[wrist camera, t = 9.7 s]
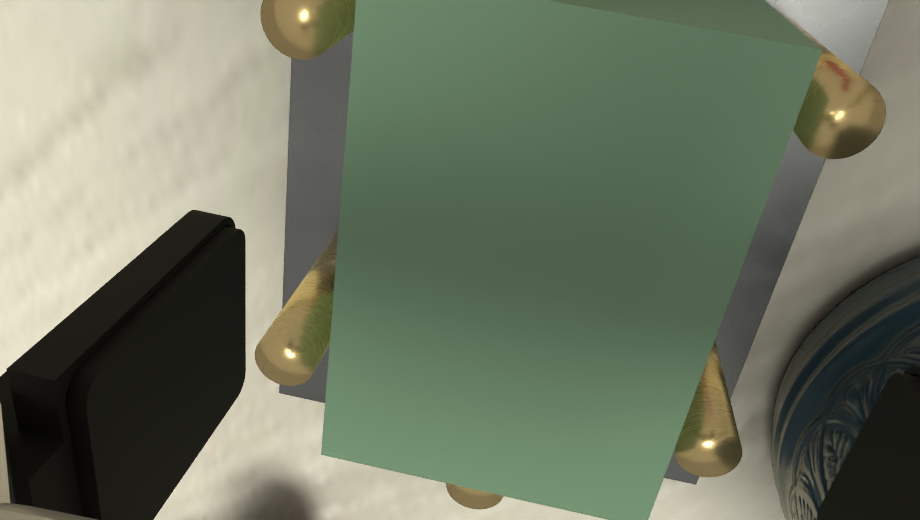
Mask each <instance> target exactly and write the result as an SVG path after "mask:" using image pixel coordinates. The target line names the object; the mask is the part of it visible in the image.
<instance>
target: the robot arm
mask: <svg viewBox="0 0 920 520" xmlns="http://www.w3.org/2000/svg"><path fill="white" fill-rule="evenodd" d="M245 371H246V356H245V235H244V232H243V231H242V230H240V229H236V228H235V224H234V221H233V220H232V219H231V218H230V217H226V216H221V215H217V214H212V213H207V212H203V211H198V210H192V211H190V212H188V213H187V214H186V215H185V216H184V217H182V218H181V219H180V220H179V221H178V222H177V223H175V224H174V225H173V226H172V227H171V228H170V229H168V230H167V231H166V232H165V233H164V234H163V235H161V236H160V237H159V238H158V239H157V240H156V241H155V242H153V243H152V244H151V245H150V246H149V247H148V248H146V249H145V250H144V251H143V252H142V253H141V254H139V255H138V256H137V257H136V258H135V259H134V260H132V261H131V262H130V263H129V264H128V265H127V266H126V267H124V268H123V269H122V270H121V271H120V272H119V273H117V274H116V275H115V276H114V277H113V278H112V279H110V280H109V281H108V282H107V283H106V284H105V285H104V286H102V287H101V288H100V289H99V290H98V291H97V292H95V293H94V294H93V295H92V296H91V297H90V298H88V299H87V300H86V301H85V302H84V303H83V304H81V305H80V306H79V307H78V308H77V309H76V310H75V311H73V312H72V313H71V314H70V315H69V316H68V317H66V318H65V319H64V320H63V321H62V322H61V323H59V324H58V325H57V326H56V327H55V328H54V329H53V330H51V331H50V332H49V333H48V334H47V335H46V336H44V337H43V338H42V339H41V340H40V341H39V342H37V343H36V344H35V345H34V346H33V347H32V348H30V349H29V350H28V351H27V352H26V353H25V354H24V355H22V356H21V357H20V358H19V359H18V360H17V361H15V362H14V363H13V364H12V365H11V366H10V367H8V368H7V371H6V372H5V373H4V374H3V375H2V376H1V377H0V520H153V519H154V518H155V516H156V515H157V513H158V512H159V511H160V509H161V508H162V506H163V505H164V503H165V502H166V500H167V499H168V497H169V496H170V495H171V493H172V492H173V490H174V489H175V487H176V486H177V484H178V483H179V481H180V480H181V479H182V477H183V476H184V474H185V473H186V471H187V470H188V468H189V467H190V465H191V464H192V463H193V461H194V460H195V458H196V457H197V455H198V454H199V452H200V451H201V450H202V448H203V447H204V445H205V444H206V442H207V441H208V439H209V438H210V436H211V435H212V434H213V432H214V431H215V429H216V428H217V426H218V425H219V423H220V422H221V420H222V419H223V418H224V416H225V415H226V413H227V412H228V410H229V409H230V407H231V406H232V404H233V403H234V402H235V400H236V399H237V397H238V395H239V394H240V392H241V389H242V387H243V383H244V379H245ZM817 520H920V366H911V367H909V368H908V369H907V370H905V371H904V373H898V372H897V373H894V374H892V375H891V376H890V377H889V379H888V380H887V382H886V384H885V386H884V388H883V389H882V391H881V393H880V395H879V397H878V399H877V401H876V403H875V404H874V406H873V408H872V410H871V412H870V414H869V416H868V417H867V419H866V421H865V423H864V425H863V427H862V429H861V431H860V432H859V434H858V436H857V438H856V440H855V442H854V444H853V446H852V447H851V449H850V451H849V453H848V455H847V457H846V459H845V461H844V462H843V464H842V466H841V468H840V470H839V472H838V474H837V476H836V477H835V479H834V481H833V483H832V485H831V487H830V489H829V490H828V492H827V494H826V496H825V498H824V500H823V502H822V504H821V505H820V508H819V510H818V514H817Z"/></svg>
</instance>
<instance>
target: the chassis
mask: <svg viewBox="0 0 920 520" xmlns="http://www.w3.org/2000/svg"><path fill="white" fill-rule="evenodd" d="M765 1H766V2H767V3H768V4H769V5H771V6H772V7H773V8H774V9H775V10H776V11H778V12H779V13H780V14H781V15H782V16H783V17H785V18H786V19H787V20H788V21H789V22H790V23H792V24H793V25H794V26H795V27H796V28H797V29H799V30H800V31H801V32H802V33H803V34H804V35H806V36H807V37H808V38H809V39H810V40H811V41H813V42H814V43H815V44H816V45H817V46H818V47H820V48H821V49H822V53H821V56H820V58H819V61H818V64H817V66H816V69H815V72H814V74H813V77H812V80H811V82H810V85H809V88H808V91H807V93H806V96H805V99H804V101H803V104H802V107H801V109H800V112H799V115H798V117H797V120H796V123H795V126H794V128H793V131H792V134H791V136H790V139H789V142H788V144H787V147H786V150H785V152H784V155H783V158H782V161H781V163H780V166H779V169H778V171H777V174H776V177H775V179H774V182H773V185H772V187H771V190H770V193H769V196H768V198H767V201H766V204H765V206H764V209H763V212H762V214H761V217H760V220H759V222H758V225H757V228H756V230H755V233H754V236H753V239H752V241H751V244H750V247H749V249H748V252H747V255H746V257H745V260H744V263H743V265H742V268H741V271H740V274H739V276H738V279H737V282H736V284H735V287H734V290H733V292H732V295H731V298H730V300H729V303H728V306H727V309H726V311H725V314H724V317H723V319H722V322H721V325H720V327H719V330H718V333H717V335H716V338H715V341H714V344H713V346H712V349H711V352H710V354H709V357H708V360H707V362H706V365H705V368H704V370H703V373H702V376H701V379H700V381H699V384H698V387H697V389H696V392H695V395H694V397H693V400H692V403H691V405H690V408H689V411H688V414H687V416H686V419H685V422H684V424H683V427H682V430H681V432H680V435H679V438H678V440H677V443H676V446H675V449H674V451H673V454H672V457H671V459H670V462H669V465H668V467H667V470H666V473H665V475H664V478H668V479H673V480H677V481H682V482H686V483H691V484H696V483H697V481H698V478H699V476H701V477H716V476H721V475H724V474H726V473H728V472H730V471H731V470H733V469H734V468H735V467H736V466H737V465H738V463H739V462H740V460H741V457H742V447H741V443H740V439H739V435H738V431H737V427H736V423H735V419H734V414H733V410H732V406H731V402H730V398H731V396H732V393H733V391H734V388H735V386H736V383H737V381H738V378H739V375H740V373H741V370H742V368H743V365H744V363H745V360H746V358H747V355H748V353H749V350H750V348H751V345H752V343H753V340H754V338H755V335H756V333H757V330H758V328H759V325H760V323H761V320H762V318H763V315H764V313H765V310H766V308H767V305H768V303H769V300H770V298H771V295H772V293H773V290H774V288H775V285H776V283H777V280H778V278H779V275H780V273H781V270H782V268H783V265H784V263H785V260H786V258H787V255H788V252H789V250H790V247H791V245H792V242H793V240H794V237H795V235H796V232H797V230H798V227H799V225H800V222H801V220H802V217H803V215H804V212H805V210H806V207H807V205H808V202H809V200H810V197H811V195H812V192H813V190H814V187H815V185H816V182H817V180H818V177H819V175H820V172H821V170H822V167H823V165H824V162H825V160H826V158H828V159H840V158H846V157H849V156H852V155H855V154H857V153H859V152H861V151H862V150H864V149H865V148H867V147H868V146H869V145H870V144H871V143H872V142H873V141H874V140H875V139H876V138H877V136H878V135H879V133H880V132H881V130H882V128H883V125H884V122H885V116H886V109H885V104H884V100H883V98H882V96H881V95H880V93H879V92H878V91H877V90H876V89H875V88H874V87H873V86H872V85H870V84H869V83H868V82H867V81H866V80H864V79H863V78H862V77H861V76H860V75H859V74H860V72H861V69H862V67H863V64H864V62H865V59H866V57H867V54H868V52H869V49H870V47H871V44H872V42H873V39H874V37H875V34H876V32H877V29H878V27H879V24H880V22H881V19H882V17H883V14H884V12H885V9H886V6H887V4H888V1H889V0H765ZM355 8H356V0H263V2H262V6H261V22H262V26H263V30H264V32H265V34H266V36H267V38H268V39H269V41H270V42H271V44H272V45H273V46H274V47H275V48H276V49H277V50H279V51H280V52H281V53H283V54H285V55H286V56H289V57H291V58H292V61H291V88H290V115H289V142H288V169H287V197H286V224H285V251H284V278H283V305H282V311H281V312H280V313H279V315H278V316H277V318H276V319H275V321H274V322H273V324H272V325H271V326H270V328H269V329H268V331H267V332H266V334H265V335H264V336H263V338H262V339H261V341H260V342H259V344H258V345H257V347H256V350H255V360H256V363H257V365H258V367H259V369H260V370H261V372H262V373H263V374H264V375H265V376H266V377H267V378H269V379H270V380H272V381H274V382H276V383H278V384H280V387H279V393H282V394H286V395H291V396H295V397H300V398H304V399H309V400H313V401H318V402H323V403H325V399H326V386H327V373H328V360H329V347H330V334H331V321H332V308H333V295H334V282H335V269H336V256H337V243H338V230H339V217H340V204H341V191H342V178H343V165H344V152H345V139H346V126H347V113H348V100H349V87H350V74H351V61H352V48H353V34H354V21H355ZM446 487H447V490H448V493H449V494H450V496H451V497H452V498H453V499H454V500H455V501H456V502H458V503H459V504H461V505H463V506H465V507H468V508H472V509H487V508H490V507H493V506H495V505H496V504H498V503H499V502H500V501H501V500H502V498H503V496H502V495H497V494H493V493H489V492H484V491H480V490H475V489H471V488H466V487H462V486H458V485H453V484H449V483H446Z"/></svg>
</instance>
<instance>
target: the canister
mask: <svg viewBox="0 0 920 520" xmlns="http://www.w3.org/2000/svg"><path fill="white" fill-rule="evenodd" d="M911 366H920V257H917V258H915V259H913V260H910V261H908V262H906V263H904V264H902V265H900V266H898V267H896V268H894V269H892V270H890V271H888V272H886V273H884V274H883V275H881V276H879V277H877V278H876V279H874V280H872V281H871V282H869V283H868V284H866V285H865V286H863V287H862V288H860V289H859V290H857V291H856V292H854V293H853V294H852V295H850V296H849V297H848V298H846V299H845V300H844V301H843V302H841V303H840V304H839V305H838V306H837V307H836V308H835V309H833V310H832V311H831V312H830V313H829V314H828V315H827V316H826V317H825V318H824V319H823V320H822V321H821V322H820V323H819V324H818V325H817V326H816V327H815V329H814V330H813V331H812V332H811V333H810V334H809V336H808V337H807V338H806V339H805V341H804V342H803V344H802V345H801V346H800V348H799V349H798V351H797V352H796V354H795V356H794V357H793V359H792V361H791V362H790V364H789V366H788V368H787V370H786V372H785V374H784V377H783V379H782V382H781V385H780V387H779V391H778V394H777V398H776V402H775V408H774V415H773V441H772V467H773V474H774V480H775V484H776V488H777V491H778V494H779V499H780V502H781V506H782V510H783V513H784V516H785V518H786V520H817V514H818V510H819V508H820V505H821V504H822V502H823V500H824V498H825V496H826V494H827V492H828V490H829V489H830V487H831V485H832V483H833V481H834V479H835V477H836V476H837V474H838V472H839V470H840V468H841V466H842V464H843V462H844V461H845V459H846V457H847V455H848V453H849V451H850V449H851V447H852V446H853V444H854V442H855V440H856V438H857V436H858V434H859V432H860V431H861V429H862V427H863V425H864V423H865V421H866V419H867V417H868V416H869V414H870V412H871V410H872V408H873V406H874V404H875V403H876V401H877V399H878V397H879V395H880V393H881V391H882V389H883V388H884V386H885V384H886V382H887V380H888V379H889V377H890V376H891V375H892V374H894V373H897V372H898V373H904V371H905V370H907V369H908V368H909V367H911Z"/></svg>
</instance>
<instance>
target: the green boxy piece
mask: <svg viewBox="0 0 920 520" xmlns="http://www.w3.org/2000/svg"><path fill="white" fill-rule="evenodd" d="M821 53H822V49H821V48H820V47H818V46H817V45H816V44H815V43H814V42H813V41H811V40H810V39H809V38H808V37H807V36H806V35H804V34H803V33H802V32H801V31H800V30H799V29H797V28H796V27H795V26H794V25H793V24H792V23H790V22H789V21H788V20H787V19H786V18H785V17H783V16H782V15H781V14H780V13H779V12H778V11H776V10H775V9H774V8H773V7H772V6H771V5H769V4H768V3H767V2H766V1H765V0H356V8H355V21H354V34H353V48H352V61H351V74H350V87H349V100H348V113H347V126H346V139H345V152H344V165H343V178H342V191H341V204H340V217H339V230H338V243H337V256H336V269H335V282H334V295H333V308H332V321H331V334H330V347H329V360H328V373H327V386H326V399H325V412H324V425H323V438H322V451H321V455H325V456H330V457H334V458H338V459H343V460H347V461H352V462H356V463H361V464H365V465H369V466H374V467H378V468H383V469H387V470H391V471H396V472H400V473H405V474H409V475H414V476H418V477H422V478H427V479H431V480H436V481H440V482H444V483H449V484H453V485H458V486H462V487H466V488H471V489H475V490H480V491H484V492H489V493H493V494H497V495H502V496H506V497H511V498H515V499H519V500H524V501H528V502H533V503H537V504H542V505H546V506H550V507H555V508H559V509H564V510H568V511H572V512H577V513H581V514H586V515H590V516H595V517H599V518H603V519H608V520H648V518H649V516H650V513H651V510H652V508H653V505H654V502H655V500H656V497H657V494H658V492H659V489H660V486H661V484H662V481H663V478H664V475H665V473H666V470H667V467H668V465H669V462H670V459H671V457H672V454H673V451H674V449H675V446H676V443H677V440H678V438H679V435H680V432H681V430H682V427H683V424H684V422H685V419H686V416H687V414H688V411H689V408H690V405H691V403H692V400H693V397H694V395H695V392H696V389H697V387H698V384H699V381H700V379H701V376H702V373H703V370H704V368H705V365H706V362H707V360H708V357H709V354H710V352H711V349H712V346H713V344H714V341H715V338H716V335H717V333H718V330H719V327H720V325H721V322H722V319H723V317H724V314H725V311H726V309H727V306H728V303H729V300H730V298H731V295H732V292H733V290H734V287H735V284H736V282H737V279H738V276H739V274H740V271H741V268H742V265H743V263H744V260H745V257H746V255H747V252H748V249H749V247H750V244H751V241H752V239H753V236H754V233H755V230H756V228H757V225H758V222H759V220H760V217H761V214H762V212H763V209H764V206H765V204H766V201H767V198H768V196H769V193H770V190H771V187H772V185H773V182H774V179H775V177H776V174H777V171H778V169H779V166H780V163H781V161H782V158H783V155H784V152H785V150H786V147H787V144H788V142H789V139H790V136H791V134H792V131H793V128H794V126H795V123H796V120H797V117H798V115H799V112H800V109H801V107H802V104H803V101H804V99H805V96H806V93H807V91H808V88H809V85H810V82H811V80H812V77H813V74H814V72H815V69H816V66H817V64H818V61H819V58H820V56H821Z"/></svg>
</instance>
